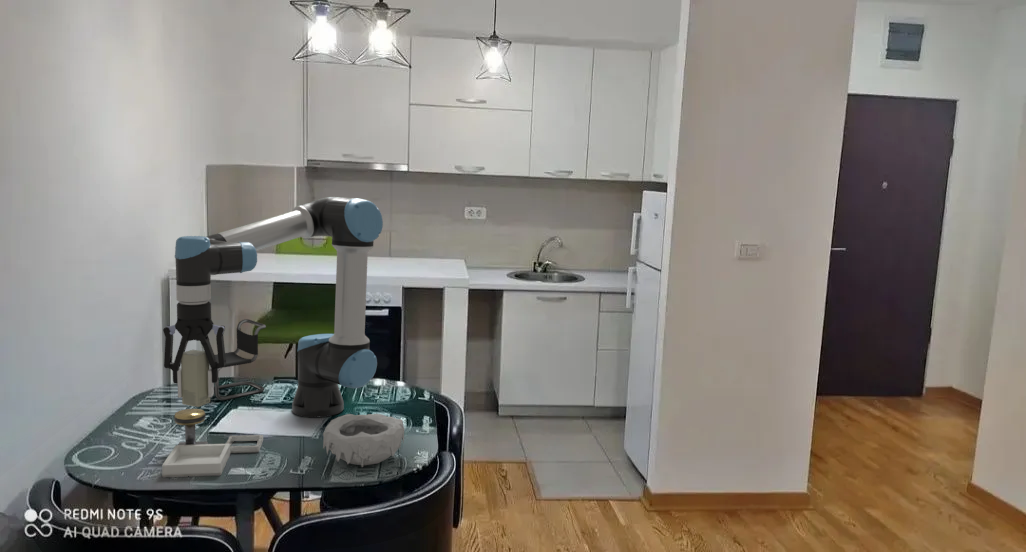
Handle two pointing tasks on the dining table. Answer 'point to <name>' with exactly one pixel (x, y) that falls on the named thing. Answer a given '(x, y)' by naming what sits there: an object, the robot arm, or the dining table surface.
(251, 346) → the chair
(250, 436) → the pin seat
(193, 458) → the tray
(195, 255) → the robot arm
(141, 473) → the dining table surface
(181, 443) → the mounted dome knob
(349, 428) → the bowl
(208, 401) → the box
